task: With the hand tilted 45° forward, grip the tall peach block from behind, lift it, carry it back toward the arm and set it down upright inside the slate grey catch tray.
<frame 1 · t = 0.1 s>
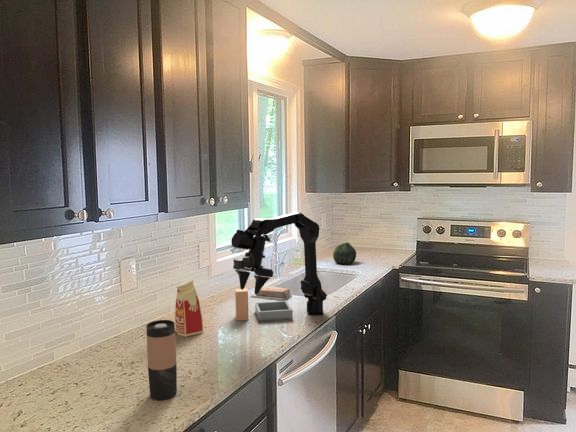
hand: (248, 291, 179), 15 cm above the table, tool pointing down, fingers open, 9 cm apart
travel mug: (163, 395, 130), on the table
squash: (344, 264, 308), on the table
peach block: (242, 318, 197), on the table
red food bag: (188, 332, 181), on the table
packaged product: (271, 297, 231), on the table
catch tray: (273, 315, 200), on the table
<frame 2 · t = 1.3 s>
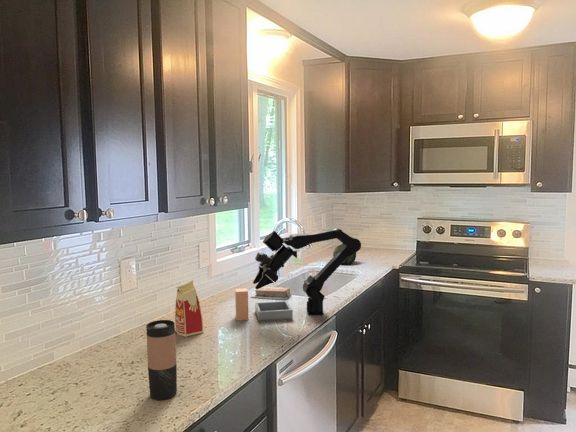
hand: (254, 285, 196), 13 cm above the table, tool tilted 45°, fingers open, 9 cm apart
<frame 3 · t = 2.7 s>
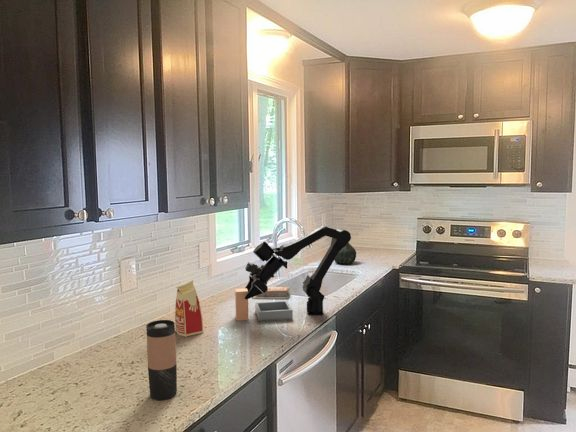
hand: (244, 295, 196), 9 cm above the table, tool tilted 45°, fingers open, 9 cm apart
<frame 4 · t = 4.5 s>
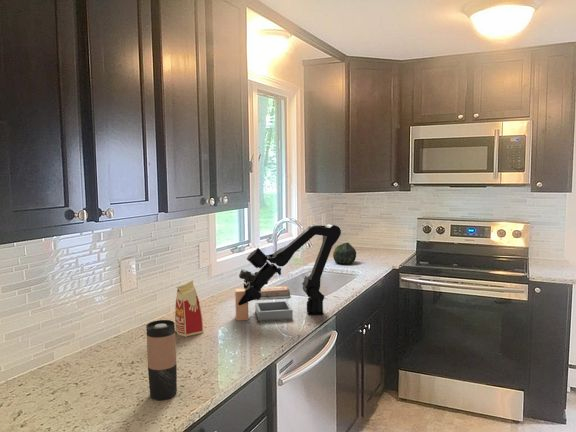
hand: (238, 302, 196), 7 cm above the table, tool tilted 45°, fingers closed on peach block, 5 cm apart
peach block: (242, 318, 197), on the table, touching gripper
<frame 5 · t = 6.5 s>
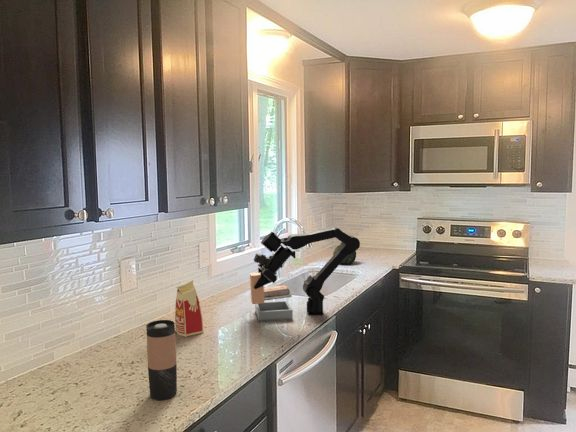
hand: (253, 286, 197), 13 cm above the table, tool tilted 45°, fingers closed on peach block, 5 cm apart
peach block: (257, 302, 198), point 6 cm above the table, touching gripper
when the fingers open (9 cm above the table, at t = 8.9 s): peach block drops 2 cm, resting on catch tray.
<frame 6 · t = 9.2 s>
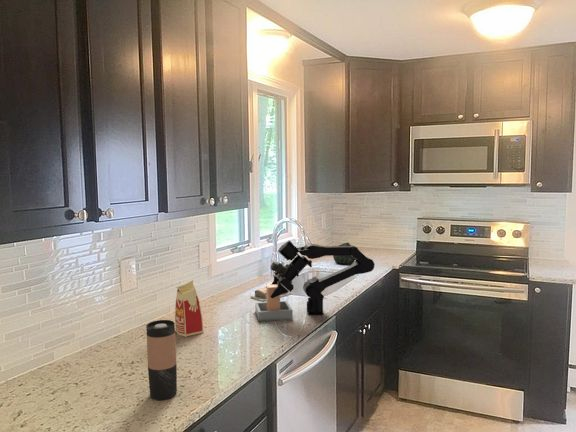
hand: (269, 294, 199), 9 cm above the table, tool tilted 45°, fingers open, 9 cm apart
peach block: (273, 313, 200), point 1 cm above the table, touching catch tray
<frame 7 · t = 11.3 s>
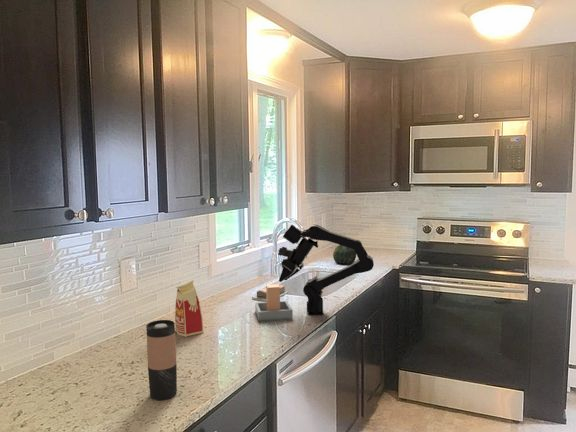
hand: (282, 280, 202), 14 cm above the table, tool tilted 35°, fingers open, 9 cm apart
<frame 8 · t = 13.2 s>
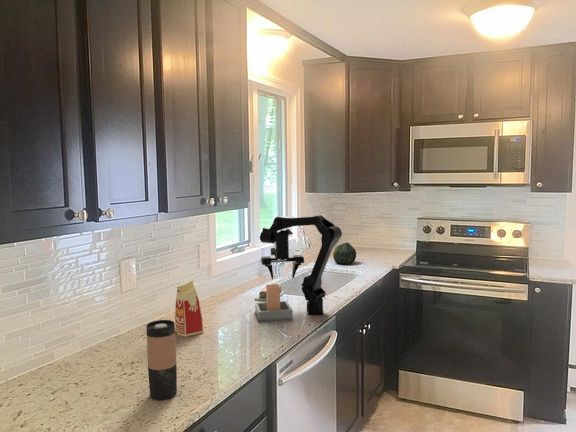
hand: (282, 278, 211), 13 cm above the table, tool pointing down, fingers open, 9 cm apart
at the end: peach block inside the target area on the catch tray (0.0 cm from its centre), point 0.8 cm above the catch tray's base; peach block tilted 0°; the gripper is holding nothing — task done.
